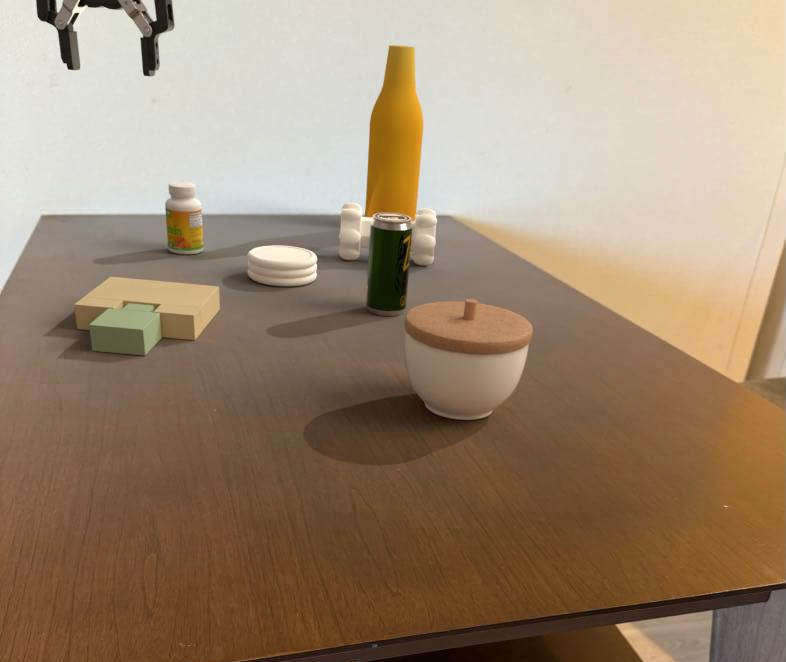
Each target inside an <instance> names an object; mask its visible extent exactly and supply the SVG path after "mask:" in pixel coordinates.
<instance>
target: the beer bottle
mask: <svg viewBox="0 0 786 662" xmlns="http://www.w3.org/2000/svg"><path fill="white" fill-rule="evenodd" d="M415 49H416V47H414V46H409V45H408V46H407V45H395V44H389V45H388V51H387V58H386V65H385V69H384V70H385V71H384V77H383V83H382V87H381V90H380V92H379V94H378V96H377V99H376V100H375V103H374V105H373V107H372V111H371V114H370V118H369V119H370V120H369V132H368V133H369V134H368V139H369V140H368V153H367V154H368V155H367V170H366V171H367V173H366V192H365V193H366V194H365V207H364V217H369V218H373V215H374V214H377V213H397V214H403V215H407V216H409V217H411V221H415V214H416V212H417V211H418V210H417V209H418V198H419V197H418V196H419V195H418V193H419V184H420V172H421V160H422V146H423V135H424V114H423V111H422V107H421V102H420V100H419V97H418V93H417V89H416V88H417V86H416V50H415Z"/></svg>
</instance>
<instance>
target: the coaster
mask: <svg viewBox="0 0 786 662" xmlns="http://www.w3.org/2000/svg"><path fill="white" fill-rule="evenodd" d="M246 258H247V263H246V264H247V268H248V269H247V276H248V277H249V278H250V279H251V280H252V281H254V282H256V283H259V284H263V285H266V286H271V287H272V286H274V287H298V286H306V285H309V284H312V283H313V282H314V281H315V280H316V279H317V277H318V273H317V270H318V265H317V262H318V257H317V255H316V253H315V252H313V251H311V250H310V249H307V248H304V247H298V246H292V245H282V244H281V245H279V244H277V245H275V244H274V245H263V246H257V247H254V248H252V249H251V250H249V251H248V252H247V255H246Z"/></svg>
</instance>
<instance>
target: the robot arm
mask: <svg viewBox="0 0 786 662" xmlns="http://www.w3.org/2000/svg"><path fill="white" fill-rule="evenodd" d="M153 1H154V2H153V3H154V10H155V11H154V12H155V19H156V20H154V19H153V18H152V16H151V15H150V13H149V12H148V9H147V7H146V5H145V4H144V3H143V0H62V3H61V4H62V5H61V7H60V9H59V11H58V5H57V4H58V3H57V0H35V5H36V16H37V17H38V20H39V21H40V22H43V23H46V24H49V25H51V26H53V27H54V28H55V29H56V31H57V37H58V44H59V53H60V59H61V61H62V64H66V68H67V70H69V71H79V70H81V59H80V49H79V40H78V31H76V30H74V27H75V25H76V24H77V21H79V19H80V17H81V15H82V14H83V13H84V12H85V11H86V9H87V8H91V9H92V8H93V9H103V8H106V9H107V10H116V11H122V10H123V11H124V12H125V13H126V15H127V16H128V17H129V18H130V19H131V20H132V22H133V23H134V24H135V25H136V27H137V28H138V30H139V32H140V33H141V35H142V37H140V51H141V52H140V53H141V64H142V66H141V67H142V74H143V77H155V75H156V71H160V70H159V69H160V66H161V64H160V63H161V62H160V48H159V38H160V36H161V35H162V34H165V33H168V32H172V31H174V29H175V27H176V25H175V24H176V23H175V16H174V15H175V14H174V9H173V8H174V6H173V0H153Z"/></svg>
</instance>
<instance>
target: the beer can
mask: <svg viewBox="0 0 786 662" xmlns="http://www.w3.org/2000/svg"><path fill="white" fill-rule="evenodd" d="M412 228H413V227H412V224H411V217H409V216H407V215H403V214H397V213H377V214H374V215H373V220H372V222H371V224H370V242H369V248H368V261H367V278H366V279H367V280H366V297H365V298H366V299H365V305H366V307H367V310H368V312H369V313H371V314H374V315H376V316H377V315H378V316H381V317H396V316H400V315H402V314H403V313H404V312H405V311H406V308H407V302H408V300H407V299H408V288H409V274H410V264H411V253H412V252H411V240H412Z"/></svg>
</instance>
